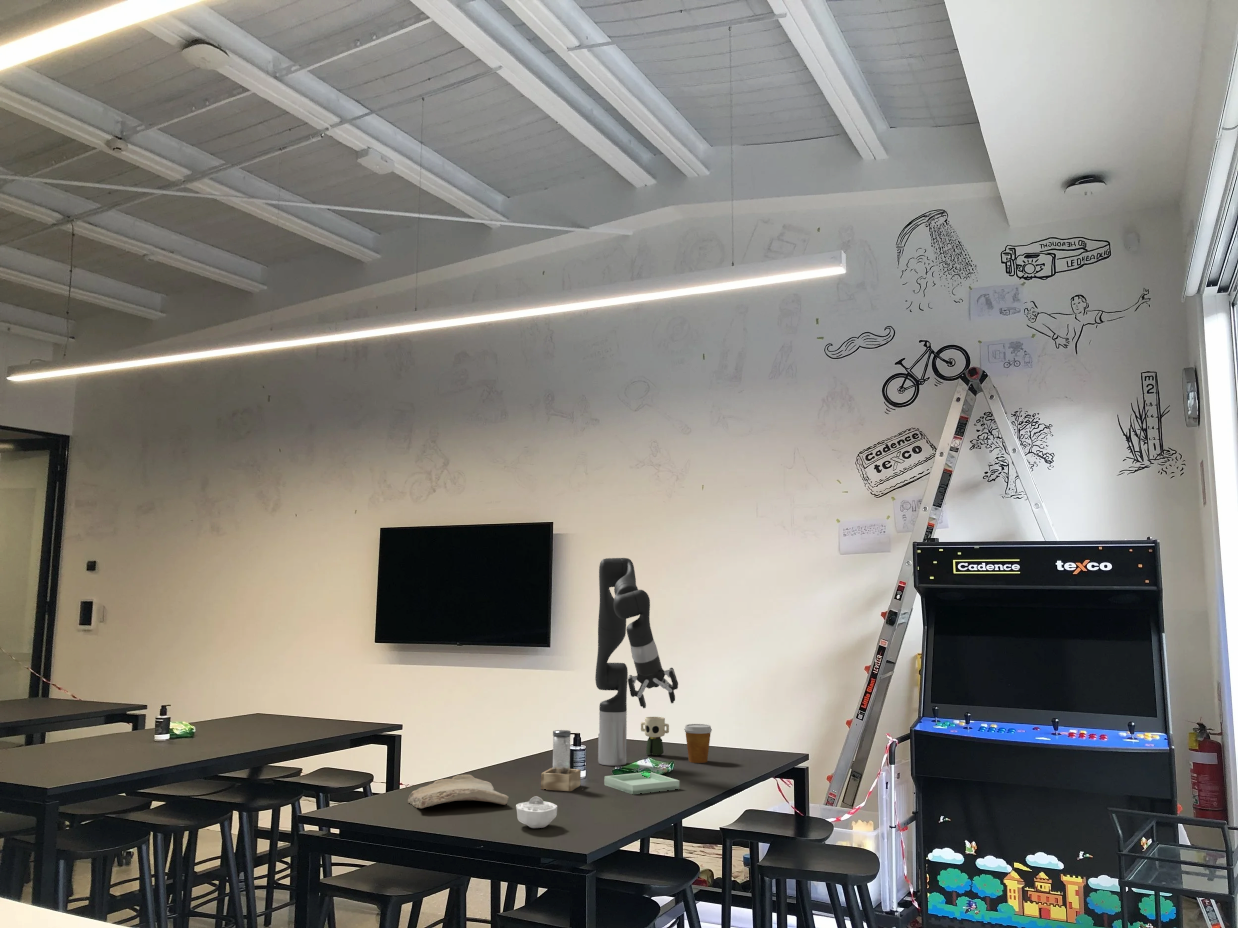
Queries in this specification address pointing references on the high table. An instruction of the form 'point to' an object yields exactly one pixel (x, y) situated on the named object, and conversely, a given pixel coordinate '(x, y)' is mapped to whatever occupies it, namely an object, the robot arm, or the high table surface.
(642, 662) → the robot arm
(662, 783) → the tray
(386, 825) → the high table surface
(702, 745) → the disposable coffee cup
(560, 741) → the canister
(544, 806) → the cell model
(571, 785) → the holder
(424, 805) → the beige pottery shard
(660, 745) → the character mug
